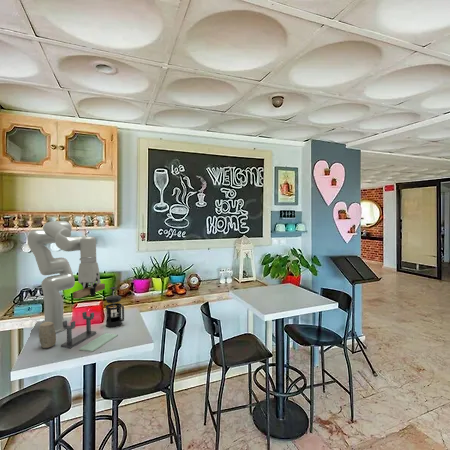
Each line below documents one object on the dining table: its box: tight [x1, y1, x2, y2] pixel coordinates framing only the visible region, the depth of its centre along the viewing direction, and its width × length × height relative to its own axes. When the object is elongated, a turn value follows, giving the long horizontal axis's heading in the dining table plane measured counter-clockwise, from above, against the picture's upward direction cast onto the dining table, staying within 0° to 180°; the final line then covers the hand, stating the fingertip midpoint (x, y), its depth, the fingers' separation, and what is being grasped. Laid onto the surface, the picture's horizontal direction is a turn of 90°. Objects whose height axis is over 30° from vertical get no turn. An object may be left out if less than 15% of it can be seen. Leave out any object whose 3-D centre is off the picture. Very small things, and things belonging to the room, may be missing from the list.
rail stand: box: [60, 311, 97, 349], centre depth 157 cm, size 6×19×12 cm, turn 165°
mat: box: [78, 332, 119, 353], centre depth 154 cm, size 8×20×1 cm, turn 165°
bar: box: [72, 283, 106, 299], centre depth 154 cm, size 3×20×3 cm, turn 165°
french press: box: [105, 286, 125, 329], centre depth 178 cm, size 12×9×23 cm
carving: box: [38, 322, 57, 349], centre depth 150 cm, size 6×8×12 cm
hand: (90, 294), depth 154 cm, fingers closed on bar, 3 cm apart
